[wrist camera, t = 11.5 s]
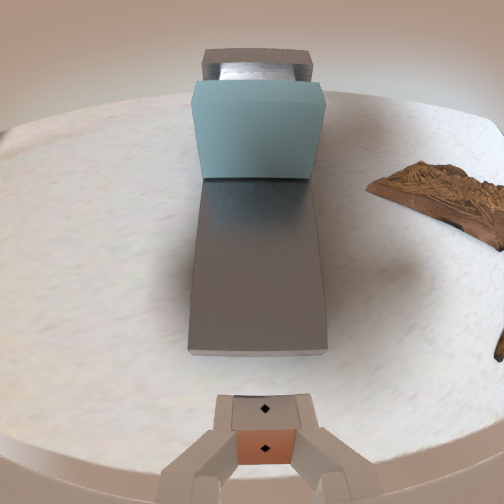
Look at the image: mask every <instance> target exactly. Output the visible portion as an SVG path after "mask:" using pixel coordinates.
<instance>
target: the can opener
mask: <svg viewBox="0 0 504 504" xmlns="http://www.w3.org/2000/svg"><path fill="white" fill-rule="evenodd" d="M494 358H495V359H496V360H497V361H498V362H502V361H503V359H504V333H503V335H502V337H501V339H500V342H499V344H498V347H497V350H496V353H495V356H494Z"/></svg>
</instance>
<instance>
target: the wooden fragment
mask: <svg viewBox="0 0 504 504" xmlns="http://www.w3.org/2000/svg"><path fill="white" fill-rule="evenodd" d="M365 191H369V192H371V193H374V194H376V195H378V196H381V197H384V198H386V199H389V200H392V201H395V202H397V203H399V204H402V205H404V206H407V207H409V208H411V209H414V210H416V211H418V212H420V213H422V214H425V215H427V216H430V217H432V218H434V219H437V220H440V221H443V222H445V223H447V224H450V225H452V226H454V227H456V228H458V229H461V230H462V231H463V232H466V233H468V234H469V235H471V236H473V237H475V238H477V239H479V240H481V241H483V242H485V243H487V244H489V245H490V246H492V247H494V248H496V249H497V250H498V251H499V252H502V251H503V250H504V186H502V185H498V186H497V187H496V186H495V185H494V184H492V183H491V184H490V183H488V182H487V181H484V183H480V182H479V181H477V180H476V179H474V178H473V177H471V178H470V177H468V175H467V174H466V172H465V171H464V170H462V169H460V168H458V167H455V166H452V165H450V164H449V165H437V166H435V165H429V164H426V163H424V162H423V161H420V162H419V163H417V164H414V165H413V166H409V167H407V168H406V169H404V170H403V171H400V172H397V173H395V174H393V175H392V176H390V177H388V178H382V179H380V180H376V181H374V182H373V183H372V184H370V185H368V187H367V189H366V190H365Z"/></svg>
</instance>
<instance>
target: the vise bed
mask: <svg viewBox="0 0 504 504" xmlns="http://www.w3.org/2000/svg"><path fill="white" fill-rule="evenodd" d="M312 70H313V63H312V60H311V58H310V54H309V52H308V51H304V50H289V49H267V48H229V49H206V51H205V54H204V58H203V61H202V71H203V81H209V80H220V74H221V73H234V72H261V73H290V74H294V76H295V81H303V82H311V77H312ZM188 350H189V351H190V353H191V354H192V355H201V356H240V357H268V356H308V355H322V354H323V353H324V352H325V351H326V350H328V344H327V330H326V317H325V305H324V294H323V283H322V273H321V264H320V254H319V246H318V237H317V229H316V221H315V213H314V206H313V198H312V191H311V184H310V179H306V178H259V177H228V178H203V185H202V194H201V202H200V211H199V220H198V229H197V238H196V248H195V259H194V270H193V281H192V294H191V307H190V321H189V336H188Z"/></svg>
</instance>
